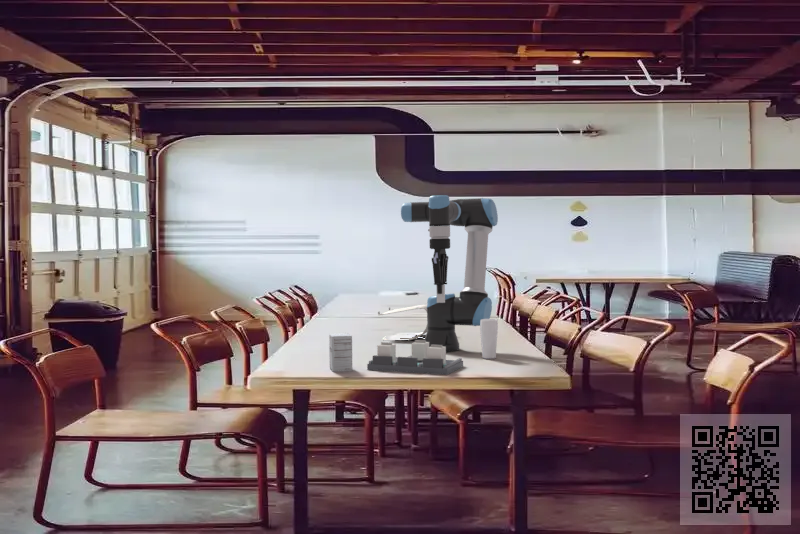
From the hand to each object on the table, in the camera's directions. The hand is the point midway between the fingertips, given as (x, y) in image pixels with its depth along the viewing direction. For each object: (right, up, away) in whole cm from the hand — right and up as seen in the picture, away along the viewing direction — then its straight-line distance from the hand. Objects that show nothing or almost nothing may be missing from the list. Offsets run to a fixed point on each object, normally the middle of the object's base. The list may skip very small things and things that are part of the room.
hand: (440, 302), depth 274 cm
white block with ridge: (-7, -21, 0) cm, 22 cm away
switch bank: (-9, -23, -4) cm, 26 cm away
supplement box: (-36, -24, -7) cm, 44 cm away
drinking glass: (+20, -23, +16) cm, 34 cm away
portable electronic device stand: (-11, -21, +80) cm, 83 cm away
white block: (-20, -21, -5) cm, 29 cm away
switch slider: (-2, -21, -12) cm, 24 cm away
